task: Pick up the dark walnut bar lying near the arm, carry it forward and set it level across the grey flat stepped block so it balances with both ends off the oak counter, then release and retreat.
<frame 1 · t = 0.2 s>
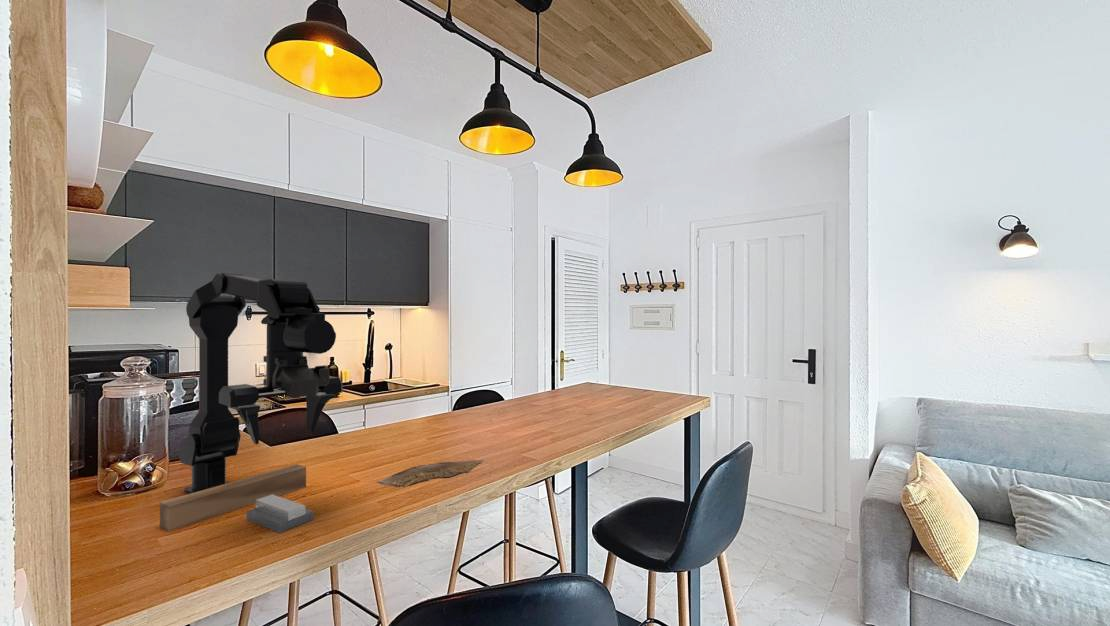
hand: (284, 438, 87), 14 cm above the table, fingers open, 9 cm apart
walnut bar: (240, 506, 93), on the table
grey flat stepped block: (280, 519, 86), on the table
wooden fragment: (435, 474, 112), on the table
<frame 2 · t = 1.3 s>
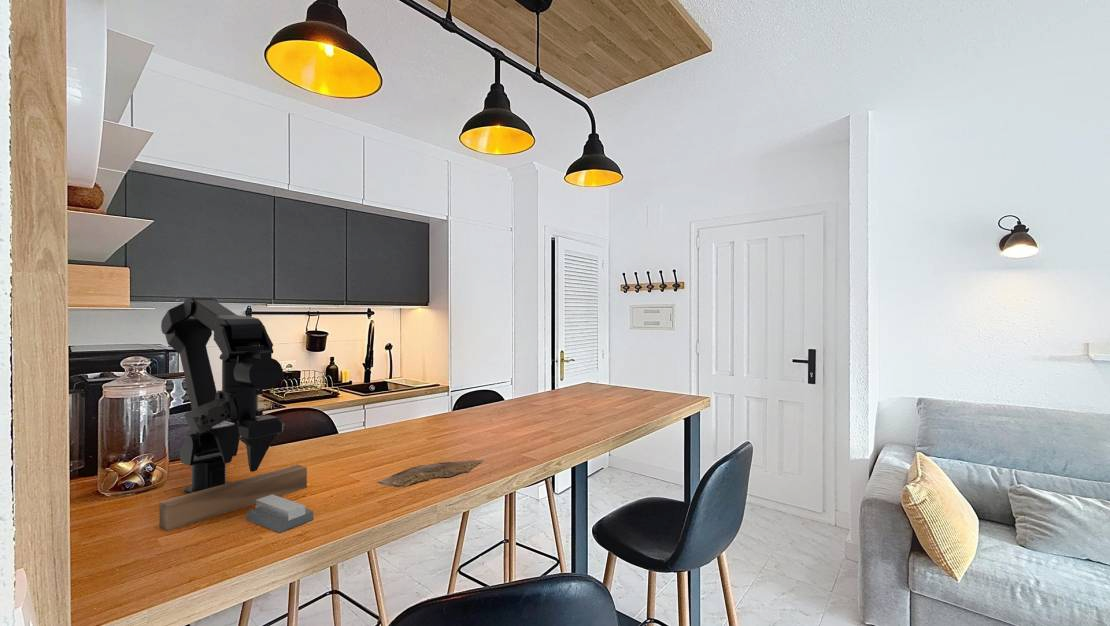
hand: (240, 466, 93), 7 cm above the table, fingers open, 9 cm apart
nothing on the table moved.
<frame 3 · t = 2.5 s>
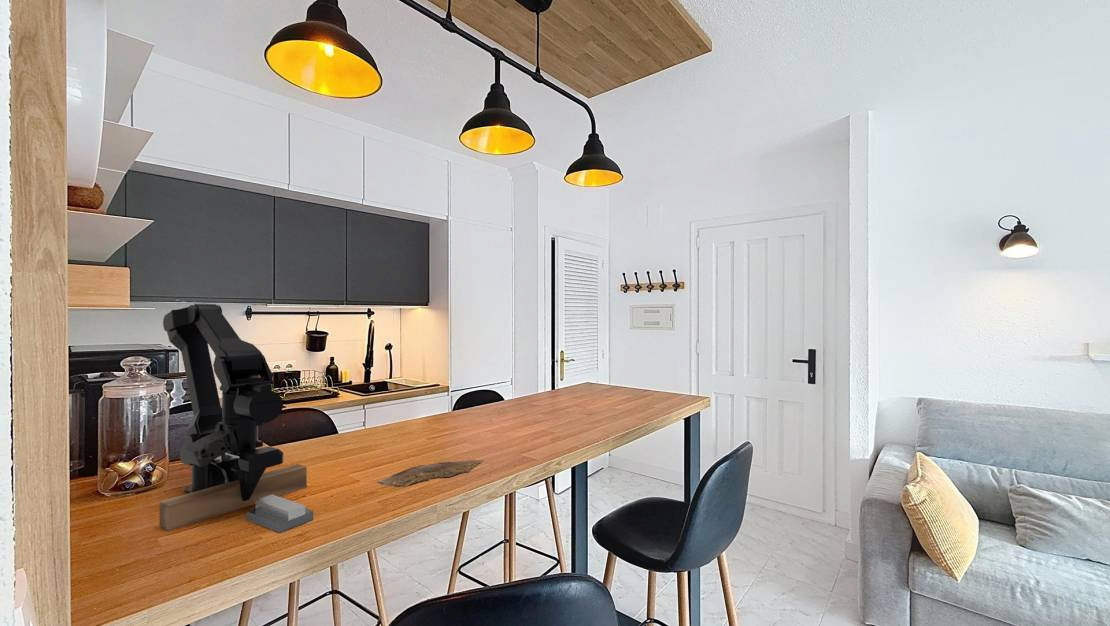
hand: (240, 498, 93), 1 cm above the table, fingers closed on walnut bar, 4 cm apart
walnut bar: (240, 506, 93), on the table, touching gripper
everything else where it was.
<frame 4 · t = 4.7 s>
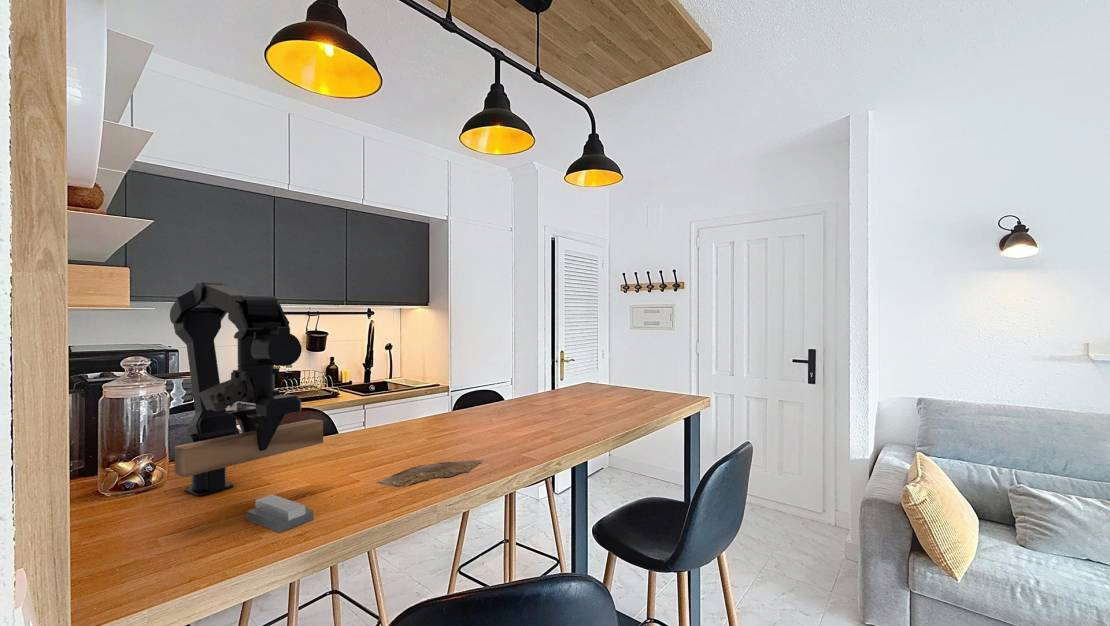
hand: (257, 449, 90), 11 cm above the table, fingers closed on walnut bar, 3 cm apart
walnut bar: (256, 456, 90), point 10 cm above the table, touching gripper
everything else where it was.
when the fingers open (5 cm above the table, at t = 6.6 s): walnut bar stays where it is, resting on grey flat stepped block.
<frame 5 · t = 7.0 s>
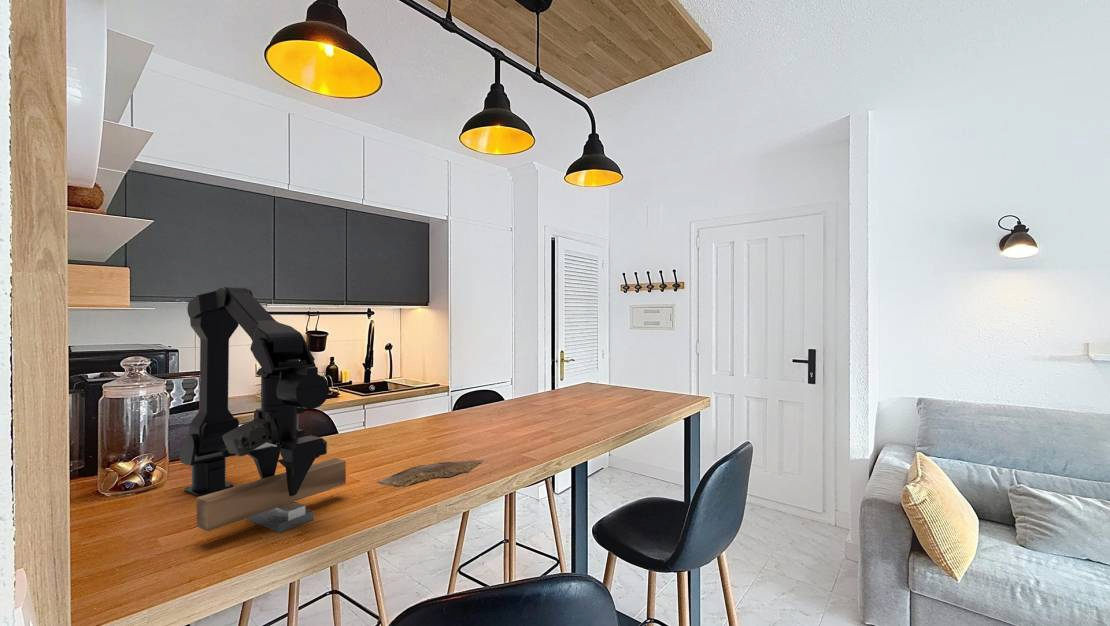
hand: (279, 491, 86), 5 cm above the table, fingers open, 7 cm apart
walnut bar: (279, 502, 86), point 3 cm above the table, touching grey flat stepped block
everything else where it was.
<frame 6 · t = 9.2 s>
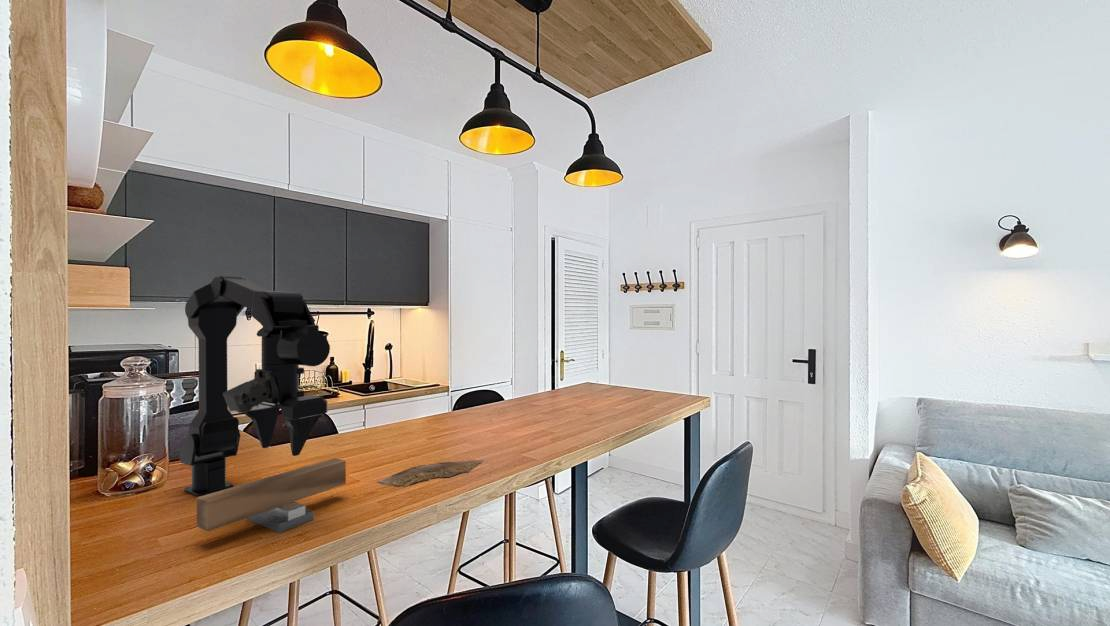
hand: (280, 451, 86), 12 cm above the table, fingers open, 9 cm apart
nothing on the table moved.
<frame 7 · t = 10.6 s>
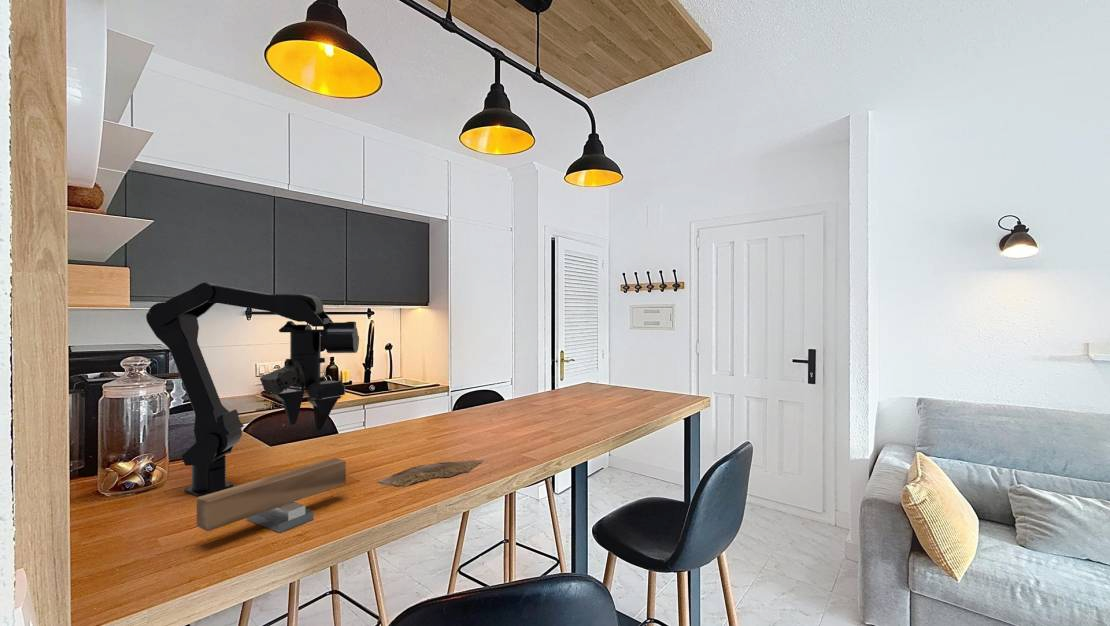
hand: (305, 427, 104), 12 cm above the table, fingers open, 9 cm apart
nothing on the table moved.
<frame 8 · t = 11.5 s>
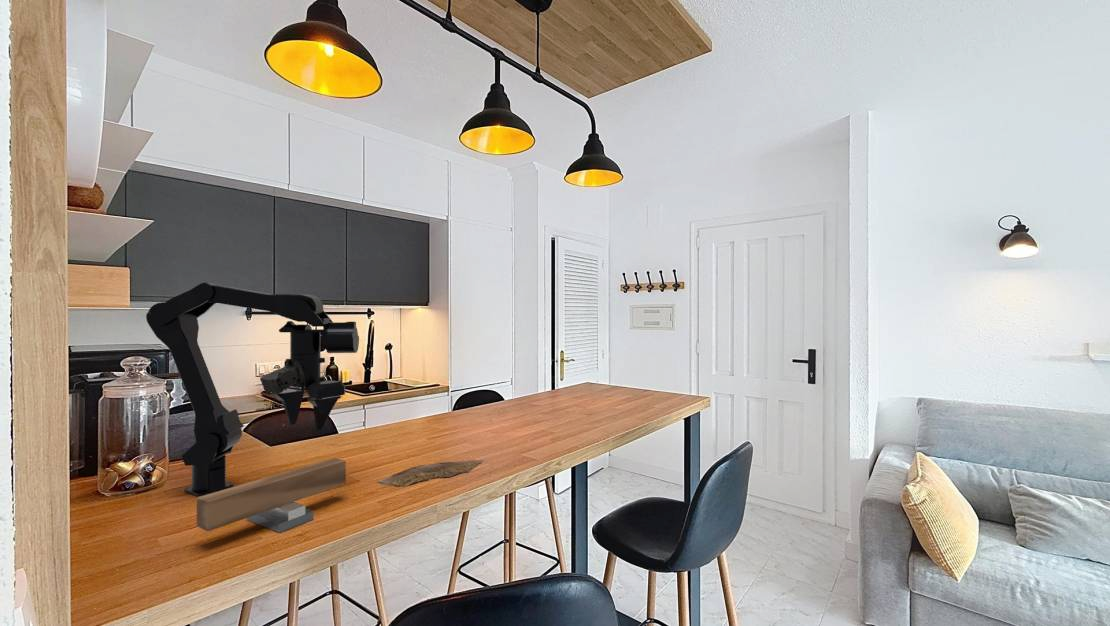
hand: (305, 427, 104), 12 cm above the table, fingers open, 9 cm apart
nothing on the table moved.
at the end: walnut bar touching grey flat stepped block; walnut bar 0.1 cm off-centre on the grey flat stepped block, point 3.0 cm above the grey flat stepped block's base; walnut bar tilted 0° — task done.
